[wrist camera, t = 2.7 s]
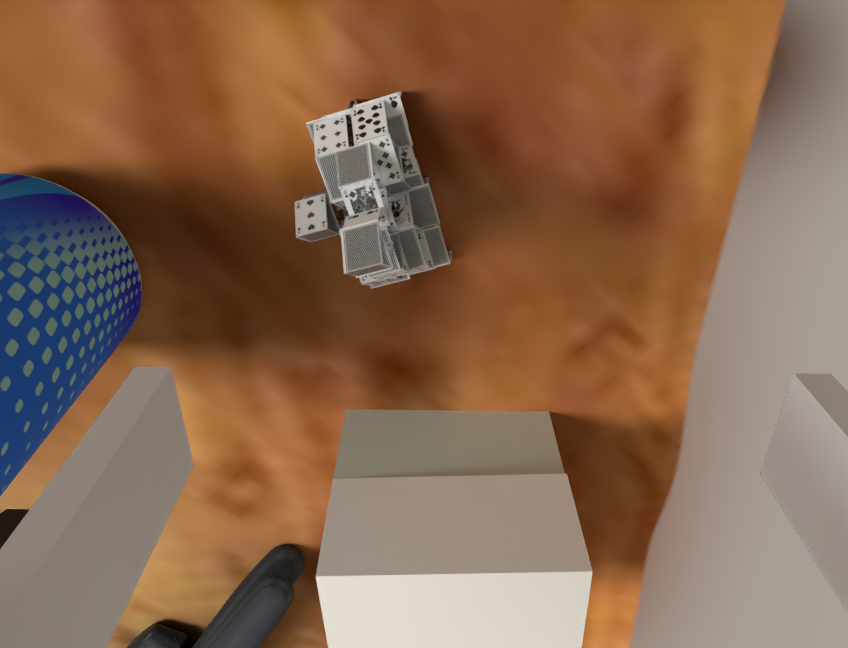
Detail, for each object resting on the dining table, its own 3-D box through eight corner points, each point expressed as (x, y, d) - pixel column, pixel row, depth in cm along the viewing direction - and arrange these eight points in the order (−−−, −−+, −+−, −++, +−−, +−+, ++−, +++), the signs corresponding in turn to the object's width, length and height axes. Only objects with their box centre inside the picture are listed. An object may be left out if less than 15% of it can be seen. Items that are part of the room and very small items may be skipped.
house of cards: (176, 104, 25) (83, 162, 18) (391, 37, 24) (375, 74, 17) (267, 302, 29) (219, 406, 23) (453, 254, 28) (459, 350, 21)
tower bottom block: (356, 545, 37) (346, 624, 33) (346, 406, 32) (333, 478, 28) (530, 547, 37) (543, 626, 33) (548, 408, 32) (566, 480, 28)
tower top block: (353, 625, 33) (342, 727, 29) (333, 478, 28) (315, 576, 24) (551, 621, 33) (570, 725, 28) (566, 473, 28) (592, 571, 23)
